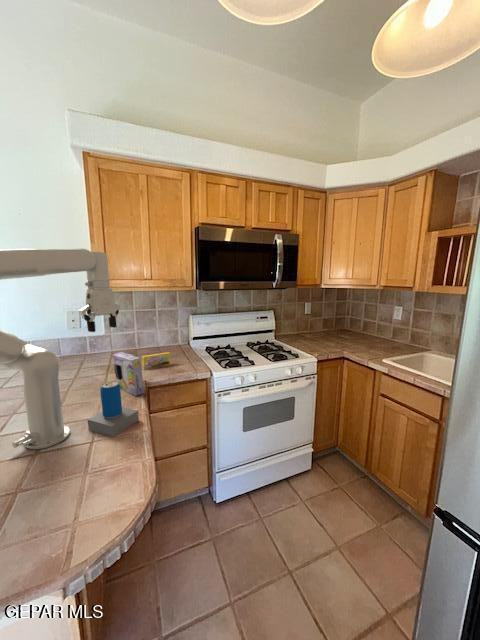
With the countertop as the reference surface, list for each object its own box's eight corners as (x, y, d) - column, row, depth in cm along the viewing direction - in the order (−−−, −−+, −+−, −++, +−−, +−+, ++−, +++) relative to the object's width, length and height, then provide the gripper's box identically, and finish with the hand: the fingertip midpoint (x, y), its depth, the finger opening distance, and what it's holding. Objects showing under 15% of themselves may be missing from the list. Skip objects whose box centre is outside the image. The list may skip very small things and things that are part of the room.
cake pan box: (115, 387, 136) (112, 353, 133) (124, 383, 140) (121, 350, 137) (134, 397, 124) (132, 360, 121) (144, 393, 128) (142, 357, 125)
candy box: (143, 370, 161) (142, 356, 159) (142, 369, 162) (142, 356, 161) (170, 365, 169) (169, 352, 168) (169, 364, 171) (168, 351, 170)
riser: (112, 437, 93) (111, 426, 92) (88, 429, 97) (87, 419, 97) (138, 420, 104) (137, 410, 103) (115, 414, 108) (114, 405, 108)
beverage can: (116, 409, 104) (114, 379, 102) (125, 414, 100) (123, 383, 98) (99, 415, 99) (96, 384, 97) (108, 421, 95) (105, 389, 93)
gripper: (84, 286, 94) (89, 334, 96) (124, 284, 109) (127, 326, 112) (70, 285, 97) (75, 332, 99) (110, 284, 112) (114, 325, 115)
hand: (102, 329), depth 106 cm, fingers open, 9 cm apart
